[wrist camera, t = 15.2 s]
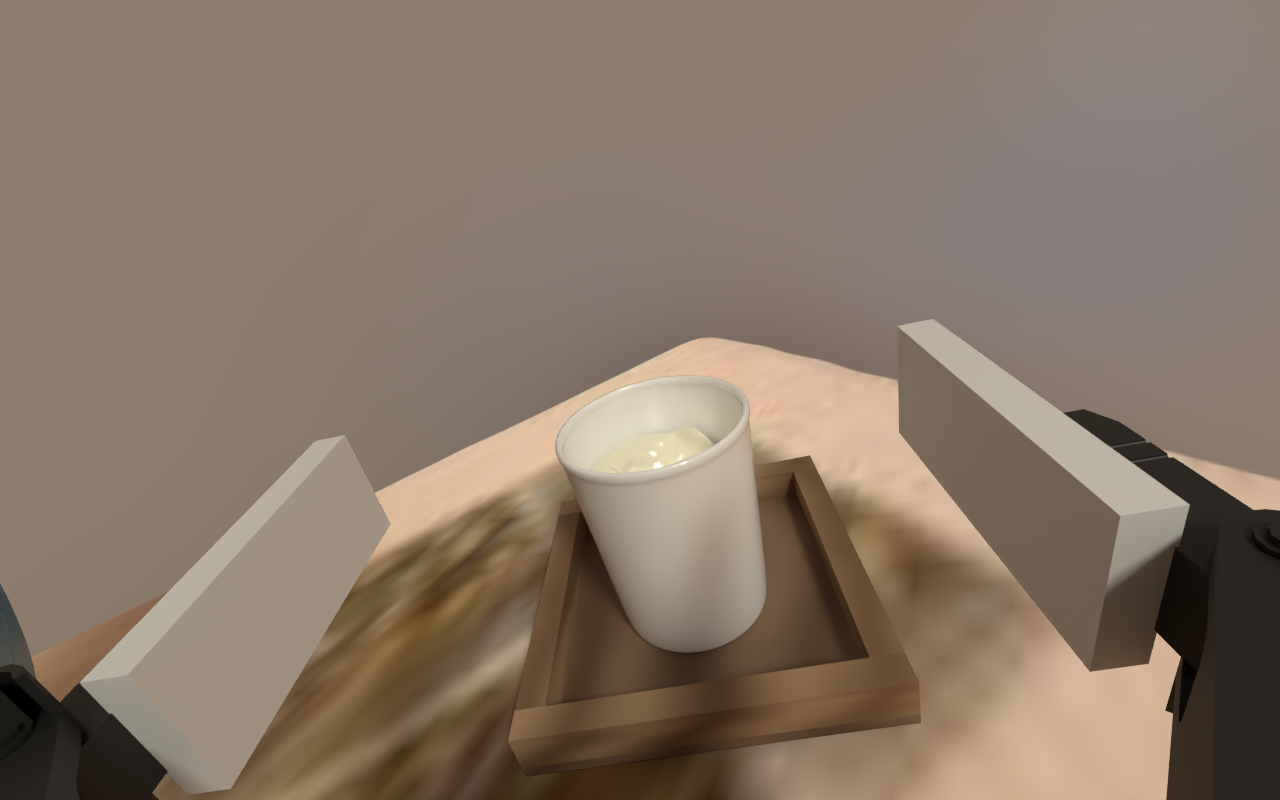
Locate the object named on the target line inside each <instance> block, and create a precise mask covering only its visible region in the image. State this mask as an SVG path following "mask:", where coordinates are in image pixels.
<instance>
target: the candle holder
mask: <svg viewBox="0 0 1280 800" xmlns="http://www.w3.org/2000/svg"><path fill="white" fill-rule="evenodd" d="M749 418H750V407H749V403H748V400H747V398H746V396H745V395H744V393H743V392H742V391H741V390H740V389H739V388H737V387H736V386H735V385H733V384H731V383H729V382H727V381H724V380H721V379H717V378H713V377H707V376H697V375H679V376H668V377H661V378H655V379H650V380H645V381H641V382H637V383H634V384H631V385H627V386H624V387H622V388H619V389H616V390H614V391H611V392H609V393H607V394H605V395H603V396H601V397H599V398H597V399H595V400H593V401H592V402H590V403H588V404H587V405H585V406H584V407H582V408H581V409H580V410H578V411H577V412H576V413H575V414H573V415H572V416H571V417H570V418H569V419H568V420H567V422H566V423H565V424H564V425H563V427H562V428H561V430H560V431H559V433H558V436H557V439H556V444H555V449H556V454H557V457H558V460H559V462H560V463H561V465H562V466H563V468H564V470H565V472H566V475H567V477H568V479H569V482H570V484H571V486H572V489H573V491H574V494H575V496H576V498H577V501H578V503H579V505H580V508H581V510H582V513H583V515H584V517H585V520H586V522H587V524H588V527H589V529H590V532H591V534H592V536H593V539H594V541H595V543H596V546H597V548H598V551H599V553H600V555H601V558H602V560H603V562H604V565H605V567H606V570H607V572H608V574H609V577H610V579H611V581H612V584H613V586H614V588H615V591H616V593H617V595H618V598H619V600H620V602H621V605H622V607H623V609H624V611H625V614H626V616H627V618H628V620H629V622H630V623H631V625H632V627H633V628H634V630H635V631H636V632H637V633H638V634H639V635H640V636H641V637H642V638H643V639H644V640H646V641H647V642H649V643H650V644H652V645H654V646H656V647H659V648H661V649H664V650H668V651H673V652H680V653H694V652H702V651H707V650H711V649H715V648H718V647H720V646H723V645H725V644H727V643H729V642H731V641H733V640H735V639H736V638H738V637H739V636H741V635H742V634H743V633H744V632H746V631H747V630H748V629H749V628H750V627H751V626H752V625H753V623H754V622H755V621H756V619H757V618H758V616H759V615H760V613H761V611H762V609H763V606H764V603H765V599H766V591H767V583H766V570H765V559H764V550H763V540H762V531H761V522H760V513H759V504H758V495H757V486H756V477H755V468H754V458H753V449H752V440H751V431H750V420H749Z"/></svg>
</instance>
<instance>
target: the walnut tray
mask: <svg viewBox="0 0 1280 800" xmlns="http://www.w3.org/2000/svg"><path fill="white" fill-rule="evenodd" d="M754 468H755V477H756V486H757V495H758V504H759V513H760V522H761V531H762V540H763V550H764V559H765V570H766V583H767V591H766V599H765V603H764V606H763V609H762V611H761V613H760V615H759V616H758V618H757V619H756V621H755V622H754V623H753V625H752V626H751V627H750V628H749V629H748V630H747V631H746V632H744V633H743V634H742V635H741V636H739V637H738V638H736V639H735V640H733V641H731V642H729V643H727V644H725V645H723V646H720V647H718V648H715V649H711V650H707V651H702V652H694V653H680V652H673V651H668V650H664V649H661V648H659V647H656V646H654V645H652V644H650V643H649V642H647V641H646V640H644V639H643V638H642V637H641V636H640V635H639V634H638V633H637V632H636V631H635V630H634V628H633V627H632V625H631V623H630V622H629V620H628V618H627V616H626V614H625V611H624V609H623V607H622V605H621V602H620V600H619V598H618V595H617V593H616V591H615V588H614V586H613V584H612V581H611V579H610V577H609V574H608V572H607V570H606V567H605V565H604V562H603V560H602V558H601V555H600V553H599V551H598V548H597V546H596V543H595V541H594V539H593V536H592V534H591V532H590V529H589V527H588V524H587V522H586V520H585V517H584V515H583V513H582V510H581V508H580V505H579V503H578V501H577V500H575V501H570V502H564V503H562V505H561V509H560V514H559V518H558V522H557V527H556V531H555V536H554V540H553V544H552V549H551V553H550V558H549V562H548V566H547V571H546V575H545V580H544V584H543V588H542V593H541V597H540V602H539V606H538V610H537V615H536V619H535V624H534V628H533V632H532V637H531V641H530V646H529V650H528V654H527V659H526V663H525V668H524V672H523V677H522V681H521V685H520V690H519V694H518V699H517V703H516V707H515V712H514V716H513V721H512V725H511V729H510V734H509V738H508V743H509V745H510V747H511V749H512V751H513V752H514V754H515V756H516V758H517V760H518V762H519V764H520V766H521V768H522V770H523V772H524V774H525V775H526V776H532V775H539V774H547V773H554V772H562V771H569V770H576V769H584V768H591V767H598V766H606V765H613V764H620V763H628V762H635V761H642V760H650V759H657V758H664V757H672V756H679V755H686V754H694V753H701V752H708V751H716V750H723V749H730V748H738V747H745V746H753V745H760V744H767V743H775V742H782V741H789V740H797V739H804V738H811V737H819V736H826V735H833V734H841V733H848V732H855V731H863V730H870V729H877V728H885V727H892V726H899V725H907V724H914V723H921V717H920V694H919V681H918V679H917V677H916V675H915V673H914V671H913V669H912V667H911V665H910V663H909V660H908V658H907V656H906V654H905V652H904V650H903V648H902V646H901V644H900V642H899V640H898V638H897V636H896V633H895V631H894V629H893V627H892V625H891V623H890V621H889V619H888V617H887V615H886V613H885V611H884V609H883V606H882V604H881V602H880V600H879V598H878V596H877V594H876V592H875V590H874V588H873V586H872V584H871V581H870V579H869V577H868V575H867V573H866V571H865V569H864V567H863V565H862V563H861V561H860V559H859V557H858V554H857V552H856V550H855V548H854V546H853V544H852V542H851V540H850V538H849V536H848V534H847V532H846V529H845V527H844V525H843V523H842V521H841V519H840V517H839V515H838V513H837V511H836V509H835V507H834V505H833V502H832V500H831V498H830V496H829V494H828V492H827V490H826V488H825V486H824V484H823V482H822V480H821V478H820V475H819V473H818V471H817V469H816V467H815V465H814V463H813V461H812V459H811V457H810V456H805V457H800V458H795V459H790V460H784V461H779V462H774V463H769V464H763V465H758V466H754Z"/></svg>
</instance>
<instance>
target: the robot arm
mask: <svg viewBox="0 0 1280 800" xmlns="http://www.w3.org/2000/svg"><path fill="white" fill-rule="evenodd" d="M897 335H898V336H897V337H898V394H899V433H900V434H901V435H902V436H903V438H904V439H905V440H906V441H907V443H908V444H909V445H910V446H911V448H912V449H913V450H914V451H915V453H916V454H917V455H918V456H919V458H920V459H921V460H922V461H923V463H924V464H925V465H926V467H927V468H928V469H929V470H930V472H931V473H932V474H933V475H934V477H935V478H936V479H937V480H938V482H939V483H940V484H941V485H942V487H943V488H944V489H945V490H946V492H947V493H948V494H949V495H950V497H951V498H952V499H953V500H954V502H955V503H956V504H957V505H958V507H959V508H960V509H961V510H962V512H963V513H964V514H965V515H966V517H967V518H968V519H969V520H970V522H971V523H972V524H973V525H974V527H975V528H976V529H977V531H978V532H979V533H980V534H981V536H982V537H983V538H984V539H985V541H986V542H987V543H988V544H989V546H990V547H991V548H992V549H993V551H994V552H995V553H996V554H997V556H998V557H999V558H1000V559H1001V561H1002V562H1003V563H1004V564H1005V566H1006V567H1007V568H1008V569H1009V571H1010V572H1011V573H1012V574H1013V576H1014V577H1015V578H1016V579H1017V581H1018V582H1019V583H1020V584H1021V586H1022V587H1023V588H1024V589H1025V591H1026V592H1027V593H1028V595H1029V596H1030V597H1031V598H1032V600H1033V601H1034V602H1035V603H1036V605H1037V606H1038V607H1039V608H1040V610H1041V611H1042V612H1043V613H1044V615H1045V616H1046V617H1047V618H1048V620H1049V621H1050V622H1051V623H1052V625H1053V626H1054V627H1055V628H1056V630H1057V631H1058V632H1059V633H1060V635H1061V636H1062V637H1063V638H1064V640H1065V641H1066V642H1067V643H1068V645H1069V646H1070V647H1071V648H1072V650H1073V651H1074V652H1075V653H1076V655H1077V656H1078V657H1079V659H1080V660H1081V661H1082V662H1083V664H1084V665H1085V666H1086V667H1087V669H1088V670H1089V671H1090V672H1091V671H1098V670H1105V669H1113V668H1120V667H1127V666H1135V665H1142V664H1149V660H1150V656H1151V652H1152V649H1153V645H1154V641H1155V637H1156V633H1158V634H1159V635H1160V636H1161V637H1162V638H1163V639H1164V640H1165V641H1166V642H1167V643H1168V644H1169V645H1170V646H1171V647H1172V648H1173V649H1174V650H1175V651H1176V652H1177V653H1178V654H1179V655H1180V656H1181V659H1180V662H1179V666H1178V669H1177V673H1176V676H1175V679H1174V683H1173V686H1172V690H1171V693H1170V696H1169V700H1168V703H1167V707H1166V710H1165V711H1168V712H1171V713H1173V722H1172V735H1171V748H1170V761H1169V773H1168V786H1167V799H1166V800H1280V511H1277V510H1268V509H1263V510H1253V509H1251V508H1250V507H1248V506H1247V505H1245V504H1244V503H1242V502H1240V501H1239V500H1237V499H1236V498H1234V497H1233V496H1231V495H1230V494H1228V493H1227V492H1225V491H1224V490H1222V489H1221V488H1219V487H1218V486H1216V485H1215V484H1213V483H1212V482H1210V481H1208V480H1207V479H1205V478H1204V477H1202V476H1201V475H1199V474H1198V473H1196V472H1195V471H1193V470H1192V469H1190V468H1189V467H1187V466H1186V465H1184V464H1183V463H1181V462H1180V461H1178V460H1176V459H1175V458H1173V457H1172V458H1169V457H1168V455H1167V453H1166V452H1164V451H1163V450H1161V449H1160V448H1158V447H1157V446H1155V445H1154V444H1152V443H1146V441H1145V439H1144V438H1143V437H1141V436H1140V435H1138V434H1137V433H1135V432H1134V431H1132V430H1131V429H1129V428H1128V427H1126V426H1125V425H1123V424H1121V423H1120V422H1118V421H1115V420H1113V419H1110V418H1107V417H1104V416H1101V415H1098V414H1096V413H1093V412H1090V411H1087V410H1084V409H1083V410H1077V411H1072V412H1067V413H1062V412H1061V411H1060V410H1058V409H1057V408H1055V407H1054V406H1053V405H1051V404H1050V403H1048V402H1047V401H1046V400H1044V399H1043V398H1042V397H1040V396H1039V395H1037V394H1036V393H1035V392H1033V391H1031V390H1030V389H1029V388H1028V387H1026V386H1025V385H1023V384H1022V383H1021V382H1019V381H1018V380H1016V379H1015V378H1014V377H1012V376H1011V375H1010V374H1008V373H1006V372H1005V371H1004V370H1003V369H1001V368H1000V367H999V366H997V365H996V364H994V363H993V362H992V361H990V360H989V359H988V358H986V357H985V356H983V355H982V354H980V353H979V352H978V351H976V350H975V349H974V348H972V347H971V346H970V345H968V344H967V343H965V342H964V341H963V340H961V339H960V338H958V337H957V336H956V335H954V334H953V333H952V332H950V331H949V330H947V329H946V328H945V327H943V326H942V325H940V324H939V323H938V322H936V321H935V320H934V319H931V320H926V321H921V322H916V323H911V324H906V325H901V326H897ZM389 525H390V522H389V520H388V518H387V516H386V514H385V512H384V510H383V508H382V506H381V505H380V503H379V501H378V499H377V497H376V495H375V493H374V491H373V489H372V487H371V485H370V483H369V481H368V480H367V477H366V476H365V474H364V472H363V470H362V468H361V466H360V464H359V462H358V460H357V459H356V456H355V455H354V452H353V450H352V449H351V447H350V445H349V443H348V441H347V439H346V437H345V435H343V436H338V437H334V438H328V439H323V440H318V441H315V442H314V443H313V444H312V445H311V446H310V447H309V448H308V449H307V450H306V451H305V453H303V454H302V455H301V456H300V457H299V458H298V459H297V460H296V461H295V463H294V464H293V465H292V466H291V467H290V468H289V469H288V470H287V471H286V472H285V473H284V474H283V475H282V476H281V477H280V478H279V479H278V480H277V481H276V482H275V483H274V484H273V485H272V486H271V487H270V488H269V489H268V490H267V491H266V492H265V493H264V494H263V495H262V496H261V497H260V498H259V499H258V501H256V502H255V503H254V505H252V507H251V508H250V509H249V510H248V511H247V512H246V513H245V514H244V515H243V516H242V517H241V518H240V519H239V520H238V521H237V522H236V523H235V524H234V525H233V526H232V527H231V528H230V529H229V530H228V531H227V532H226V533H225V534H224V535H223V536H222V537H221V538H220V539H219V540H218V541H217V542H216V543H215V544H214V545H213V546H212V548H210V549H209V551H208V552H207V553H206V554H205V555H204V556H203V557H202V558H201V559H200V560H199V561H198V562H197V563H196V564H195V565H194V566H193V567H192V568H191V569H190V570H189V571H188V572H187V573H186V574H185V575H184V576H183V577H182V578H181V579H180V580H179V581H178V582H177V583H176V584H175V586H173V587H172V588H171V589H170V590H169V591H168V592H167V593H166V594H165V595H164V596H163V597H162V598H161V599H160V600H159V602H158V603H157V604H156V605H155V606H154V607H153V608H152V609H151V610H150V611H149V612H148V613H147V614H146V615H145V616H144V617H143V618H142V619H141V620H140V621H139V622H138V623H137V624H136V625H135V626H134V627H133V628H132V629H131V630H130V631H129V632H128V633H127V634H126V635H125V636H124V637H123V638H122V639H121V640H120V641H119V642H118V643H117V644H116V646H115V647H114V648H113V649H112V650H111V651H110V652H109V653H108V654H107V655H106V656H105V657H104V658H103V659H102V660H101V661H100V662H99V663H98V664H97V665H96V666H95V667H94V668H93V669H92V670H91V671H90V672H89V673H88V674H87V675H86V676H85V677H84V678H83V679H82V680H81V681H80V682H79V683H78V684H77V685H76V686H75V687H74V688H73V690H72V691H71V692H70V693H69V694H68V695H67V696H66V697H65V698H64V699H63V700H62V701H61V702H59V701H58V700H57V699H56V698H55V697H54V696H53V695H51V694H50V693H49V692H48V691H47V690H46V689H45V688H44V687H43V686H42V685H41V684H40V683H39V682H38V681H37V680H36V676H35V671H34V666H33V662H32V659H31V655H30V652H29V649H28V646H27V643H26V640H25V638H24V635H23V632H22V630H21V627H20V625H19V622H18V620H17V618H16V616H15V613H14V611H13V609H12V607H11V604H10V602H9V600H8V598H7V596H6V594H5V592H4V591H3V588H2V586H1V585H0V800H159V799H158V798H157V797H156V796H154V795H153V794H152V792H153V791H154V789H155V788H156V787H157V785H158V784H159V782H160V781H161V780H162V778H163V777H164V775H165V774H166V773H167V774H168V775H169V776H170V777H171V778H172V779H173V780H174V781H175V782H176V783H177V784H178V785H179V786H180V787H181V788H182V789H183V790H184V791H185V792H186V793H187V794H188V795H189V794H196V793H203V792H211V791H218V790H225V789H231V788H232V786H233V784H234V783H235V781H236V779H237V778H238V776H239V774H240V773H241V771H242V769H243V768H244V766H245V764H246V763H247V761H248V759H249V758H250V756H251V755H252V753H253V751H254V750H255V748H256V746H257V745H258V743H259V741H260V740H261V738H262V736H263V735H264V733H265V731H266V730H267V728H268V726H269V725H270V723H271V721H272V720H273V718H274V716H275V715H276V713H277V711H278V710H279V708H280V706H281V705H282V703H283V701H284V700H285V698H286V696H287V695H288V693H289V691H290V690H291V688H292V686H293V685H294V683H295V681H296V680H297V678H298V676H299V675H300V673H301V671H302V670H303V668H304V667H305V665H306V663H307V662H308V660H309V658H310V657H311V655H312V653H313V652H314V650H315V648H316V647H317V645H318V643H319V642H320V640H321V638H322V637H323V635H324V633H325V632H326V630H327V628H328V627H329V625H330V623H331V622H332V620H333V618H334V617H335V615H336V613H337V612H338V610H339V608H340V607H341V605H342V603H343V602H344V600H345V598H346V597H347V595H348V593H349V592H350V590H351V588H352V587H353V585H354V583H355V582H356V580H357V579H358V577H359V575H360V574H361V572H362V570H363V569H364V567H365V565H366V564H367V562H368V560H369V559H370V557H371V555H372V554H373V552H374V550H375V549H376V547H377V545H378V544H379V542H380V540H381V539H382V537H383V535H384V534H385V532H386V530H387V529H388V527H389Z"/></svg>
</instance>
